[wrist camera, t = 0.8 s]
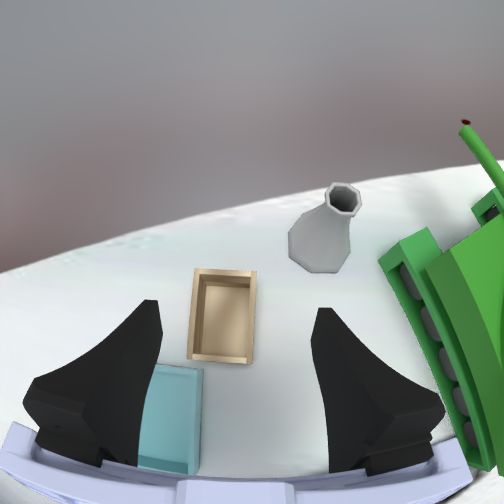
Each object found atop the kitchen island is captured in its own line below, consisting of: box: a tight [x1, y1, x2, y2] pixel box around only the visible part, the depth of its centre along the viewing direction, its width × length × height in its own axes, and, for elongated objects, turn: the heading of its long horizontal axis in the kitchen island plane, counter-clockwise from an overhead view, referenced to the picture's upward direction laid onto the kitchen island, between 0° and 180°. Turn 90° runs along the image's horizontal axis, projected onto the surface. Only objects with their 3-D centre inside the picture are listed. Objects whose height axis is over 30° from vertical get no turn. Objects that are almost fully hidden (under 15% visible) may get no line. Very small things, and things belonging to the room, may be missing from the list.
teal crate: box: [138, 364, 203, 476], centre depth 25 cm, size 11×11×4 cm
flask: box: [288, 182, 362, 273], centre depth 28 cm, size 7×7×10 cm
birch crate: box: [187, 268, 257, 364], centre depth 28 cm, size 6×8×5 cm
